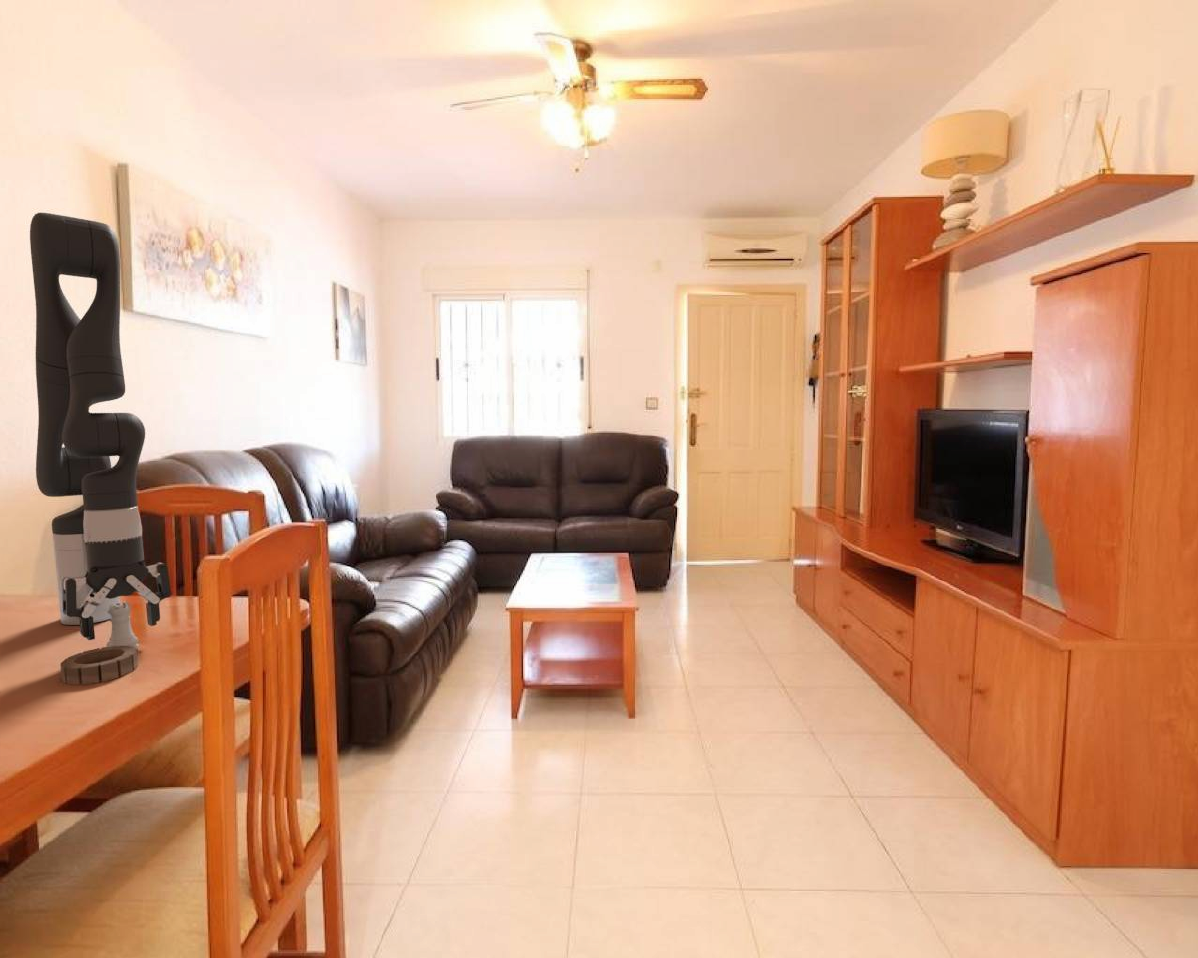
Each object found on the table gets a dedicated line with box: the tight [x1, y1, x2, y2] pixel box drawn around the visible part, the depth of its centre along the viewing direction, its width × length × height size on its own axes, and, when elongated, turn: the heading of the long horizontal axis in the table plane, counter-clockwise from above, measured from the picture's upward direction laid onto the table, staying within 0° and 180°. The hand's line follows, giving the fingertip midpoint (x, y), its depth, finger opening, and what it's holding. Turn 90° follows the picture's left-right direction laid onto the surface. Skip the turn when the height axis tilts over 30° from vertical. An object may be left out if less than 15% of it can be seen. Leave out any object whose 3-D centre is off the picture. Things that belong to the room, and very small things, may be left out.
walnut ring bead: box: [60, 646, 139, 686], centre depth 98 cm, size 9×9×2 cm
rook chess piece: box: [105, 601, 140, 650], centre depth 106 cm, size 4×4×8 cm
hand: (122, 631), depth 106 cm, fingers open, 8 cm apart
